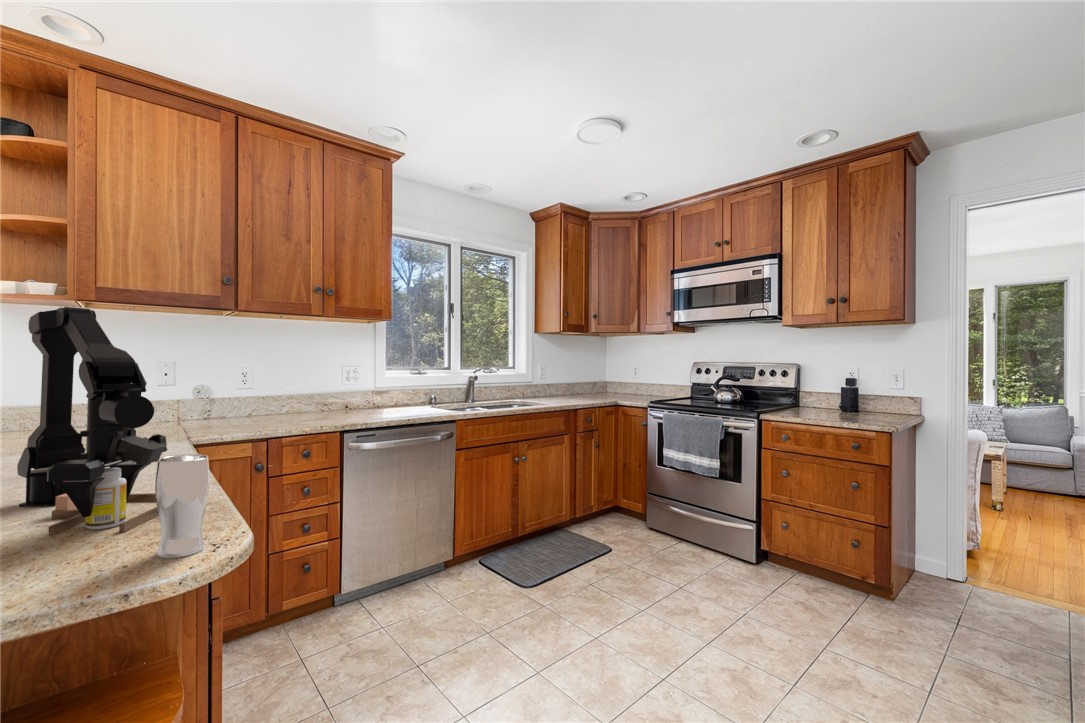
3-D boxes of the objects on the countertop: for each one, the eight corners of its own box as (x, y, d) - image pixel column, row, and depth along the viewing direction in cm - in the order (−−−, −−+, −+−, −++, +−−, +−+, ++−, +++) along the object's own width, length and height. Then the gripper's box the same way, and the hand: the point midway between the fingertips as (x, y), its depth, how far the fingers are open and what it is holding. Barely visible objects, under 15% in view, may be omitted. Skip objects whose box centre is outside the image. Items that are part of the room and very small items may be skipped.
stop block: (55, 517, 92) (55, 496, 92) (94, 502, 101) (95, 483, 101) (67, 517, 92) (67, 496, 92) (105, 502, 102) (105, 483, 102)
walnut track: (6, 536, 82) (6, 527, 82) (97, 501, 102) (97, 494, 102) (124, 532, 85) (124, 524, 85) (190, 499, 105) (190, 492, 105)
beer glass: (164, 563, 72) (167, 464, 72) (145, 553, 76) (148, 458, 76) (215, 549, 78) (218, 457, 78) (195, 540, 82) (198, 452, 82)
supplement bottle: (113, 518, 92) (115, 465, 92) (132, 522, 90) (134, 468, 90) (77, 528, 86) (78, 471, 87) (96, 532, 85) (98, 474, 85)
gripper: (122, 430, 80) (120, 524, 80) (185, 418, 99) (183, 494, 99) (45, 431, 79) (42, 526, 78) (124, 417, 97) (122, 495, 97)
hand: (106, 508), depth 88 cm, fingers open, 9 cm apart
